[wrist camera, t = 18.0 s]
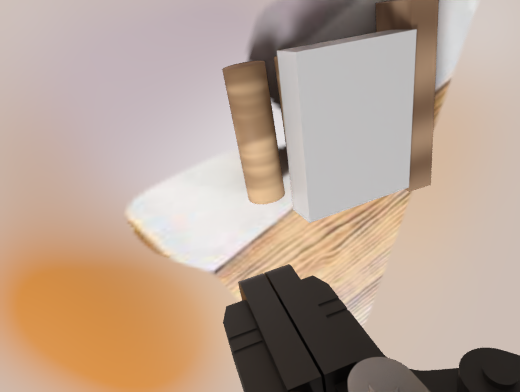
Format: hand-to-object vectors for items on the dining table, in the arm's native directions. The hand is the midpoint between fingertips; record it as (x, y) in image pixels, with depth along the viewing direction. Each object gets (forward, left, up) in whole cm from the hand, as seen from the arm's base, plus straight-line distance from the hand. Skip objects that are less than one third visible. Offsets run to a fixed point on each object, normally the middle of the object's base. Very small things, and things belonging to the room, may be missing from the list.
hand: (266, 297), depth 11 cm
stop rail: (+3, +21, -25) cm, 33 cm away
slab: (+3, +14, -22) cm, 26 cm away
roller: (+3, +6, -25) cm, 26 cm away
